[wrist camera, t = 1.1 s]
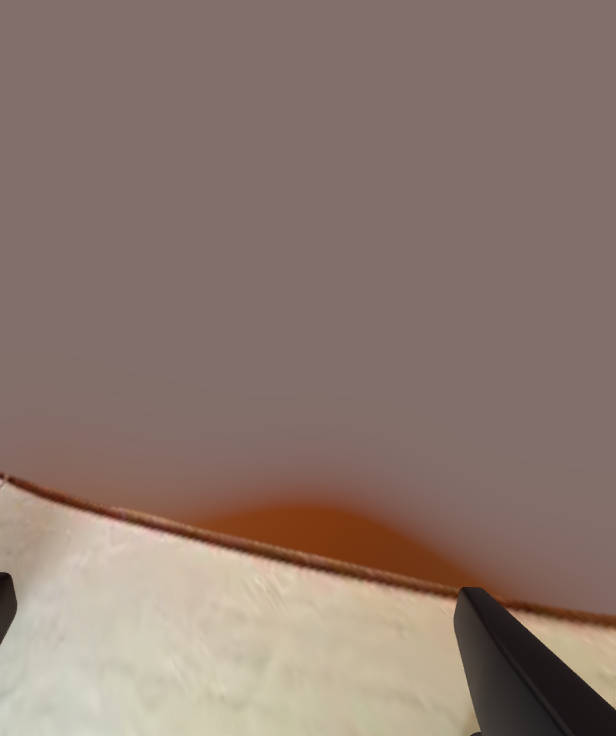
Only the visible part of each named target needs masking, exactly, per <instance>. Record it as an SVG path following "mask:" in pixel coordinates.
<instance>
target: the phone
mask: <svg viewBox="0 0 616 736" xmlns="http://www.w3.org/2000/svg"><path fill="white" fill-rule="evenodd" d="M470 736H482V733H481V732H476V733H474V734H472V735H470Z"/></svg>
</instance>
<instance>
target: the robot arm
mask: <svg viewBox="0 0 616 736" xmlns="http://www.w3.org/2000/svg"><path fill="white" fill-rule="evenodd" d="M16 611H17V600H16V595H15V590H14V585H13V580H12V577H11V575H10V574H9V573H6V572H0V645H1V643H2V641H3V639H4V637H5V635H6V633H7V631H8V629H9V627H10V625H11V623H12V621H13V619H14V617H15V615H16ZM454 630H455V634H456V638H457V642H458V646H459V650H460V654H461V658H462V662H463V666H464V670H465V674H466V678H467V682H468V686H469V690H470V694H471V699H472V703H473V706H474V710H475V714H476V717H477V720H478V724H479V727H480V730H481V733H482V736H616V710H615V709H614V708H613V707H612V706H611V705H610V704H609V703H608V702H606V701H605V700H604V699H603V698H602V697H601V696H600V695H599V694H598V693H597V692H595V691H594V690H593V689H592V688H591V687H590V686H589V685H588V684H587V683H586V682H585V681H583V680H582V679H581V678H580V677H579V676H578V675H577V674H576V673H575V672H574V671H573V670H571V669H570V668H569V667H568V666H567V665H566V664H565V663H564V662H563V661H562V660H560V659H559V658H558V657H557V656H556V655H555V654H554V653H553V652H552V651H551V650H550V649H548V648H547V647H546V646H545V645H544V644H543V643H542V642H541V641H540V640H539V639H537V638H536V637H535V636H534V635H533V634H532V633H531V632H530V631H529V630H528V629H527V628H525V627H524V626H523V625H522V624H521V623H520V622H519V621H518V620H517V619H516V618H515V617H513V616H512V615H511V614H510V613H509V612H508V611H507V610H506V609H505V608H504V607H502V606H501V605H500V604H499V603H498V602H497V601H496V600H495V599H494V598H493V597H492V596H490V595H489V594H488V593H487V592H486V591H485V590H483V589H482V588H477V587H463V588H461V589H460V591H459V595H458V600H457V604H456V609H455V613H454Z"/></svg>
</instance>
